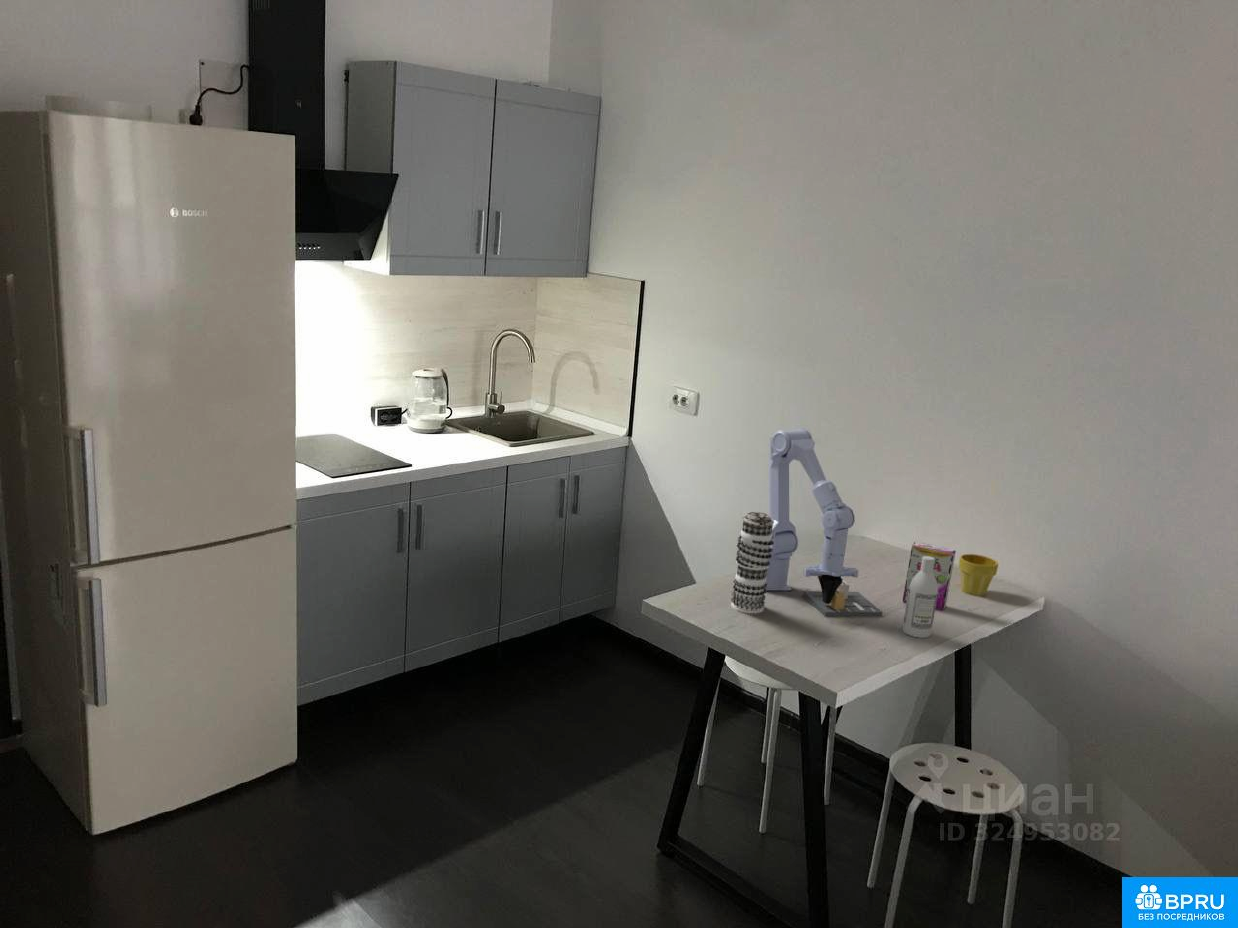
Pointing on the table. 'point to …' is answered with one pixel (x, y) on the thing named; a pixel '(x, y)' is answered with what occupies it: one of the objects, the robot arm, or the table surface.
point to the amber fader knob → (838, 600)
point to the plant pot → (976, 573)
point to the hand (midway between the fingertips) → (826, 602)
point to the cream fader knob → (844, 588)
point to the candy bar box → (940, 569)
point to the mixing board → (852, 605)
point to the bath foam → (921, 601)
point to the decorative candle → (752, 563)
